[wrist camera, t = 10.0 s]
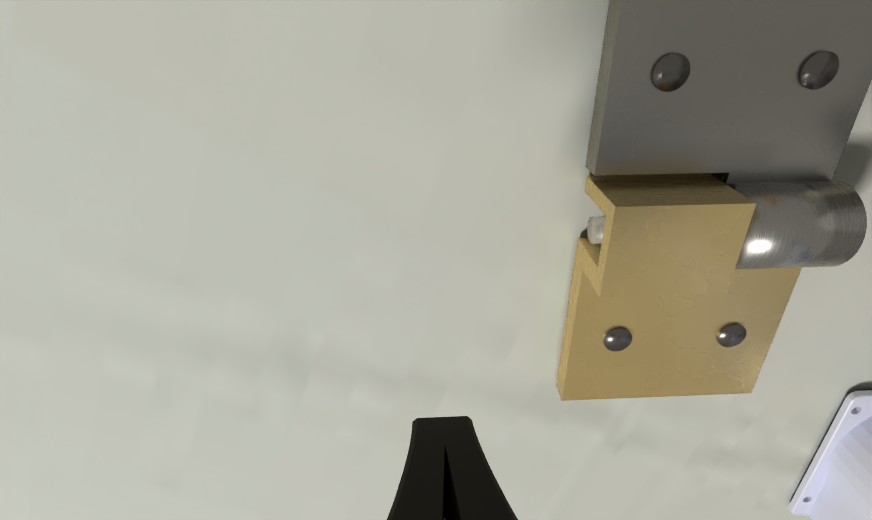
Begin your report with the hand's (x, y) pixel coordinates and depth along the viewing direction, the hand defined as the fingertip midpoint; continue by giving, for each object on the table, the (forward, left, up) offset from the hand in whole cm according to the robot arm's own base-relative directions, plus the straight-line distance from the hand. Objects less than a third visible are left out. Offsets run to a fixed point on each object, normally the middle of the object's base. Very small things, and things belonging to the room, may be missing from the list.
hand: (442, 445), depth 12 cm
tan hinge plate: (-2, -10, -9) cm, 14 cm away
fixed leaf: (+6, -11, -9) cm, 15 cm away
